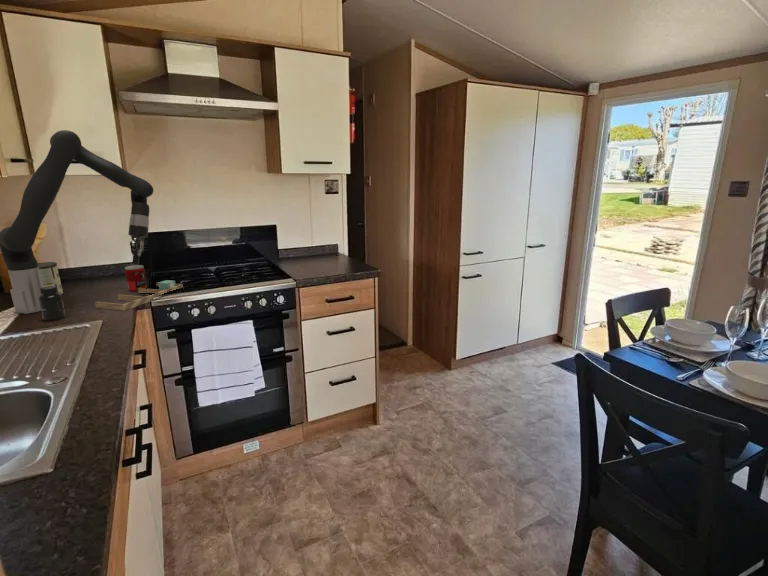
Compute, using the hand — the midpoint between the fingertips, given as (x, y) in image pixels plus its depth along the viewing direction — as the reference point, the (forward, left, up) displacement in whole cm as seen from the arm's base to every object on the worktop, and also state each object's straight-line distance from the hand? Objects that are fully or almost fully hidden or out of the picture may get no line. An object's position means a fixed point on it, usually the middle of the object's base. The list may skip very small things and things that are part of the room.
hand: (135, 264), depth 187 cm
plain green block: (+4, -12, -14) cm, 18 cm away
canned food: (+4, +5, -14) cm, 15 cm away
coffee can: (-13, +37, -14) cm, 42 cm away
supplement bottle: (-36, +3, -14) cm, 39 cm away
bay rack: (-6, -8, -13) cm, 17 cm away
